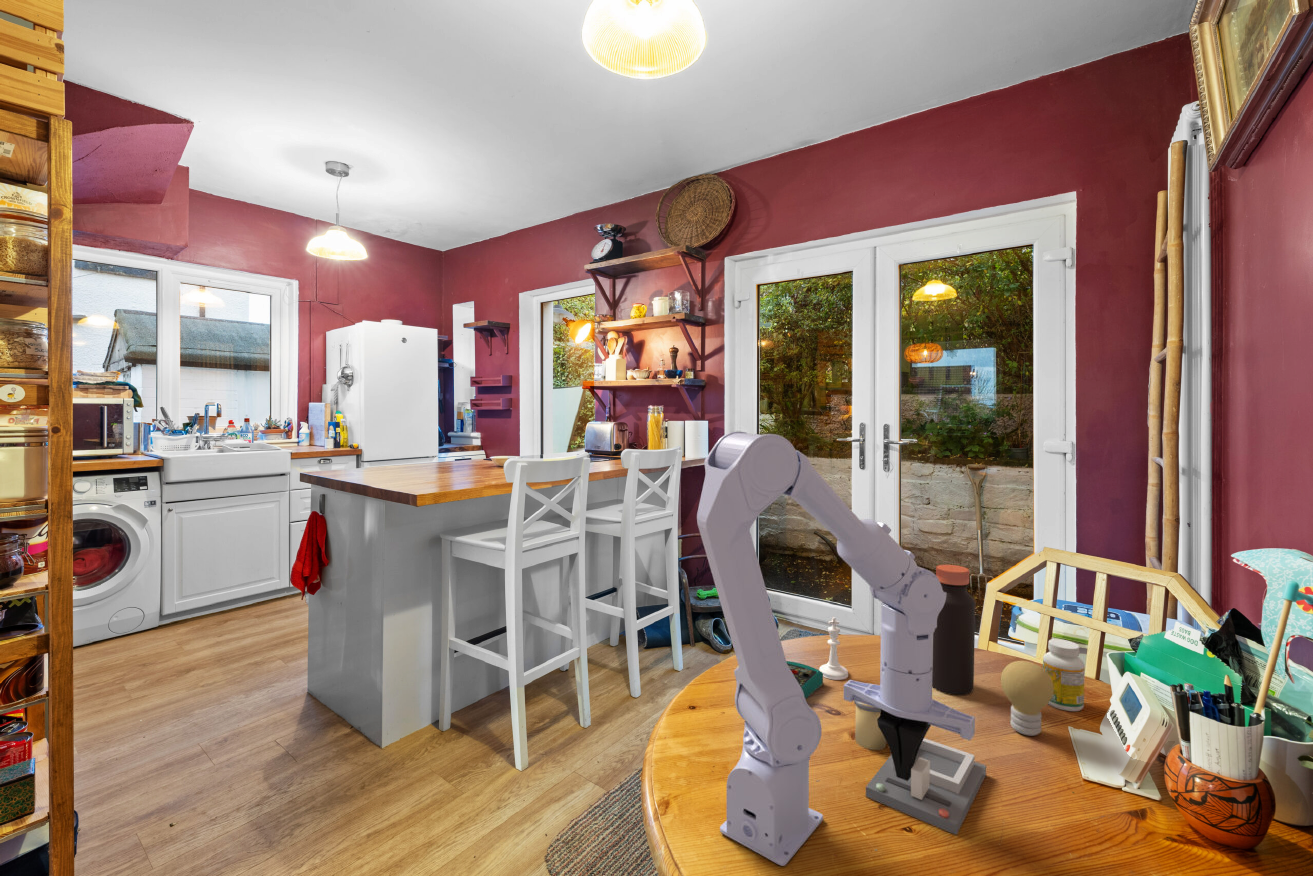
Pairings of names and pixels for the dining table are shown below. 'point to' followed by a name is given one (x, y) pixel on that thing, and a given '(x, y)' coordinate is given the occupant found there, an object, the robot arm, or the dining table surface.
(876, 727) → the beige cylinder
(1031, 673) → the light bulb
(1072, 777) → the dining table surface
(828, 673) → the chess piece
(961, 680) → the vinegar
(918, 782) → the lever
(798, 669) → the digital multimeter
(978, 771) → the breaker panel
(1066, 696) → the supplement bottle
